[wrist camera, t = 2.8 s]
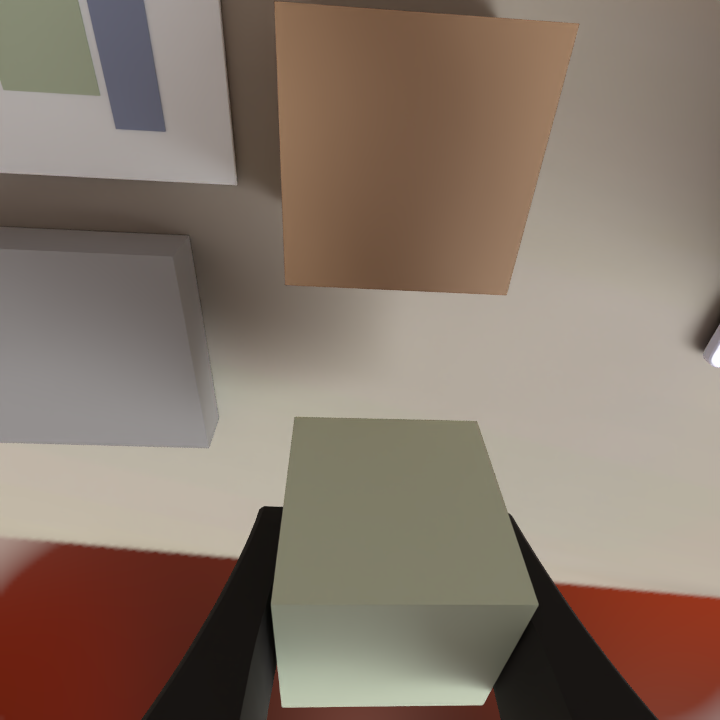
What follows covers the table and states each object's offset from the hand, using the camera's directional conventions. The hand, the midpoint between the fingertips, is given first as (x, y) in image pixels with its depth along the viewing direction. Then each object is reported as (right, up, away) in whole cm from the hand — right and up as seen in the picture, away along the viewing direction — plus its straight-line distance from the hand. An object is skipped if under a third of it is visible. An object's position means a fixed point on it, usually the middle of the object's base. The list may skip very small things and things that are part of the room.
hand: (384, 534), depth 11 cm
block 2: (0, +1, +1) cm, 2 cm away
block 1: (0, +10, 0) cm, 10 cm away
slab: (-9, +5, +4) cm, 11 cm away
